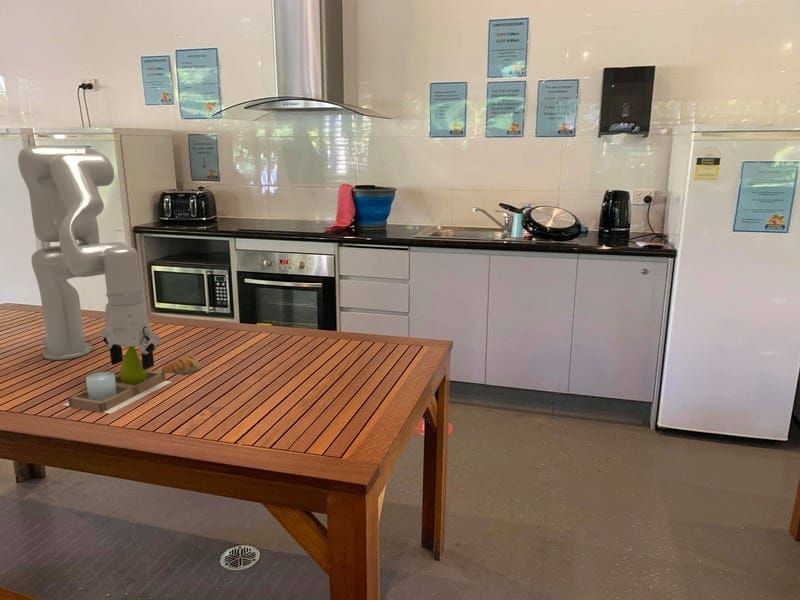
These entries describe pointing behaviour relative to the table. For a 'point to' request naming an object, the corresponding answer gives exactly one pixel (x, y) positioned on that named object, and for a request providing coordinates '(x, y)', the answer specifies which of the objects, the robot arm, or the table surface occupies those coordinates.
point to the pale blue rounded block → (101, 386)
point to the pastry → (182, 366)
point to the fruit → (132, 368)
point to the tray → (119, 394)
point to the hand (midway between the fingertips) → (132, 365)
